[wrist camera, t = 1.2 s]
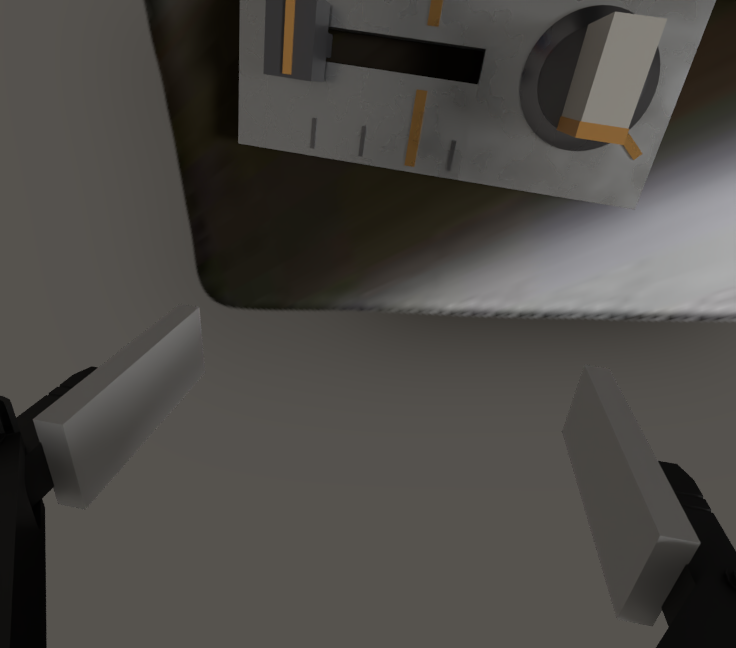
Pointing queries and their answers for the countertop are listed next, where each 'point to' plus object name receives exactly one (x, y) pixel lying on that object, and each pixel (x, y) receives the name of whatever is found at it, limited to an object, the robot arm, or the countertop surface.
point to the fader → (297, 39)
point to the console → (467, 96)
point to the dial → (599, 76)
